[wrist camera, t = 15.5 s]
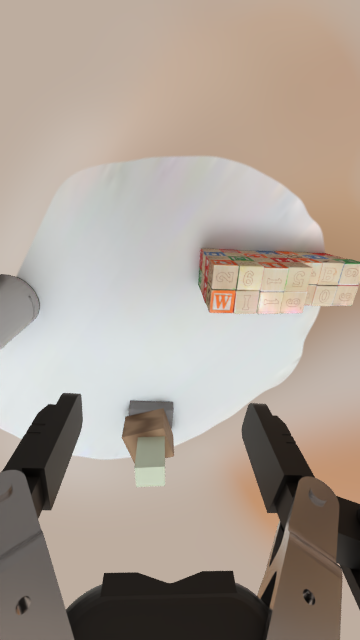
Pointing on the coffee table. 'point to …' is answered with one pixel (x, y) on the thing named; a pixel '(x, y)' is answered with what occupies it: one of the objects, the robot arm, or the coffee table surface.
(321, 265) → the stack of blocks
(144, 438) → the sage block
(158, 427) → the walnut block
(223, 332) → the coffee table surface
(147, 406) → the charcoal slab
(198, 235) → the coffee table surface
